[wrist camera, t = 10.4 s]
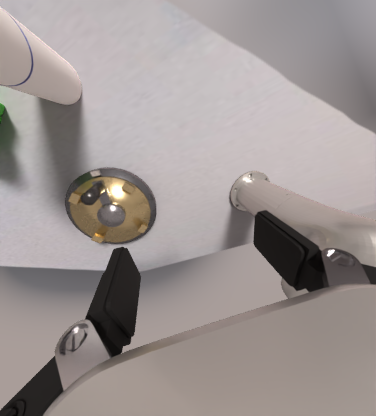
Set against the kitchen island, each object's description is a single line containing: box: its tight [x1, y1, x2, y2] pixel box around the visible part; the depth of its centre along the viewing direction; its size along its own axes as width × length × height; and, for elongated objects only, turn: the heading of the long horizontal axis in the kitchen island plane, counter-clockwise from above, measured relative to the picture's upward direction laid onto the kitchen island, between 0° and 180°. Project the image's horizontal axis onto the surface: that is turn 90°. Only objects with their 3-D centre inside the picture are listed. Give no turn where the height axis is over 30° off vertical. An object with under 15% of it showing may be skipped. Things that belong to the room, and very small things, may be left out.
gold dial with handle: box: [68, 176, 151, 243], centre depth 33 cm, size 18×18×8 cm
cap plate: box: [65, 168, 156, 244], centre depth 38 cm, size 21×21×3 cm
